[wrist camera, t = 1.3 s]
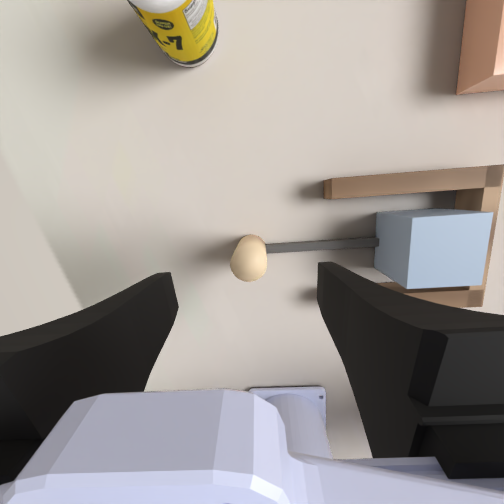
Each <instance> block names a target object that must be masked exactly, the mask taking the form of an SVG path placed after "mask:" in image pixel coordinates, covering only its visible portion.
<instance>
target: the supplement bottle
mask: <svg viewBox="0 0 504 504" xmlns="http://www.w3.org/2000/svg"><path fill="white" fill-rule="evenodd" d="M128 2H129V4H130V5H131V6H132V8H133V9H134V10H135V12H136V13H137V15H138V16H139V18H140V19H141V21H142V22H143V24H144V25H145V27H146V28H147V29H148V31H149V32H150V34H151V35H152V36H153V38H154V39H155V41H156V42H157V44H158V45H159V47H160V48H161V50H162V51H163V52H164V54H165V55H166V56H167V57H168V58H169V59H170V60H172V61H173V62H175V63H176V64H178V65H181V66H185V67H195V66H198V65H200V64H202V63H204V62H205V61H206V60H208V59H209V57H210V56H211V55H212V53H213V52H214V50H215V47H216V44H217V41H218V34H219V27H218V20H217V16H216V12H215V8H214V4H213V0H128Z"/></svg>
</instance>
